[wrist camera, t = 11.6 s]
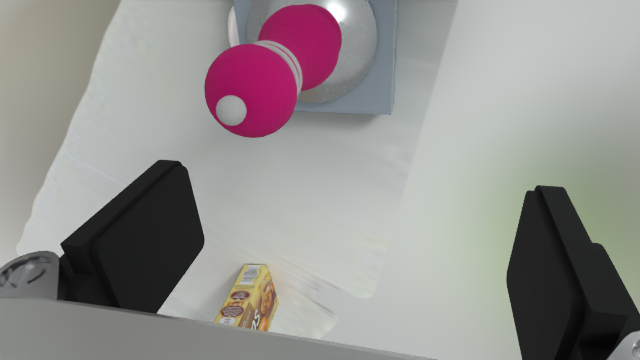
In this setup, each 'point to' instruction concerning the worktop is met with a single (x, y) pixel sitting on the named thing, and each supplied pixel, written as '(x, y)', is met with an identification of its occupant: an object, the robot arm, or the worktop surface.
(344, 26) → the pan
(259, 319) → the candy box
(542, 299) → the robot arm
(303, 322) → the worktop surface
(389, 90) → the scale
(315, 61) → the pepper mill
